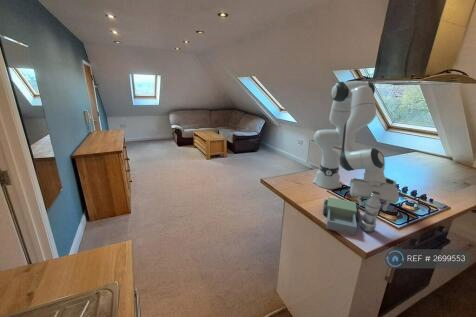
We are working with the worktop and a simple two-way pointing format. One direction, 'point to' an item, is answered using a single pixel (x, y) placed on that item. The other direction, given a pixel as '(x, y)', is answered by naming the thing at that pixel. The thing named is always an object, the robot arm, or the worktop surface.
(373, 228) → the silver metal bottle
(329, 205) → the toy pickup truck
